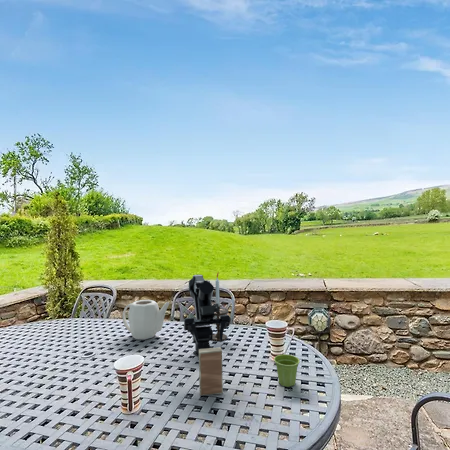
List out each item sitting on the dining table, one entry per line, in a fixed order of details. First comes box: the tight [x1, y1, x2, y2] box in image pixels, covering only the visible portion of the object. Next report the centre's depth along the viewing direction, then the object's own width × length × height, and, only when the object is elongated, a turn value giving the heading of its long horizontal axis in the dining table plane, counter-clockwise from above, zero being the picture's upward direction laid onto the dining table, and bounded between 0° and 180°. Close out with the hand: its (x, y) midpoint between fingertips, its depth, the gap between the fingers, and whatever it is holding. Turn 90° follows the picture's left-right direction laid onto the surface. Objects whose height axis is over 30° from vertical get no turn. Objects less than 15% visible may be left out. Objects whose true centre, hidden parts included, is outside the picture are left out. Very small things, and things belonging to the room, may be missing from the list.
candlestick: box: [211, 271, 229, 342], centre depth 163 cm, size 11×11×35 cm
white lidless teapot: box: [122, 299, 171, 340], centre depth 168 cm, size 16×27×19 cm, turn 83°
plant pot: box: [273, 353, 301, 388], centre depth 115 cm, size 9×9×9 cm
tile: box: [198, 346, 224, 396], centre depth 109 cm, size 3×8×15 cm, turn 99°
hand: (209, 342), depth 120 cm, fingers open, 9 cm apart
